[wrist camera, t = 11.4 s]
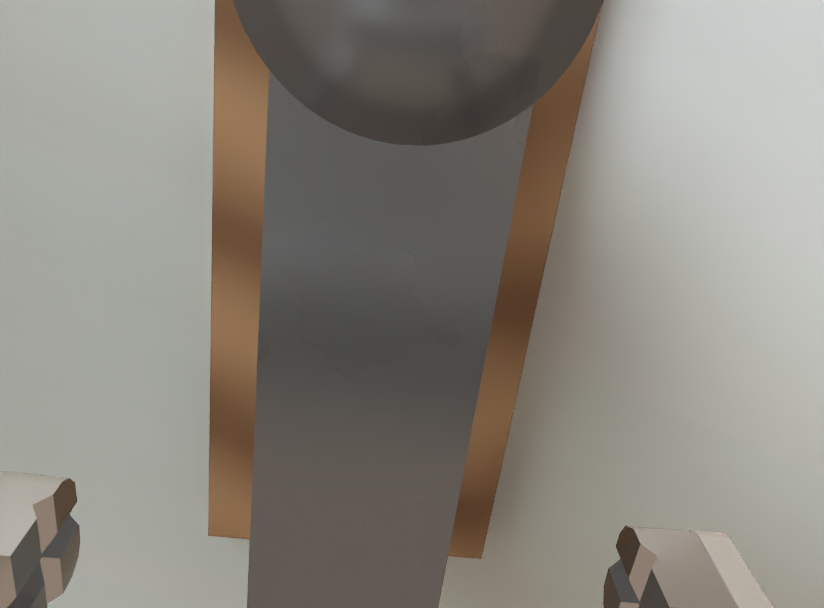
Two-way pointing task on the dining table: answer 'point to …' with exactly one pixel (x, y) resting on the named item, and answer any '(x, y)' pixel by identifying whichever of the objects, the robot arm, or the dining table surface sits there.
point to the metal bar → (382, 276)
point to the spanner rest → (241, 274)
